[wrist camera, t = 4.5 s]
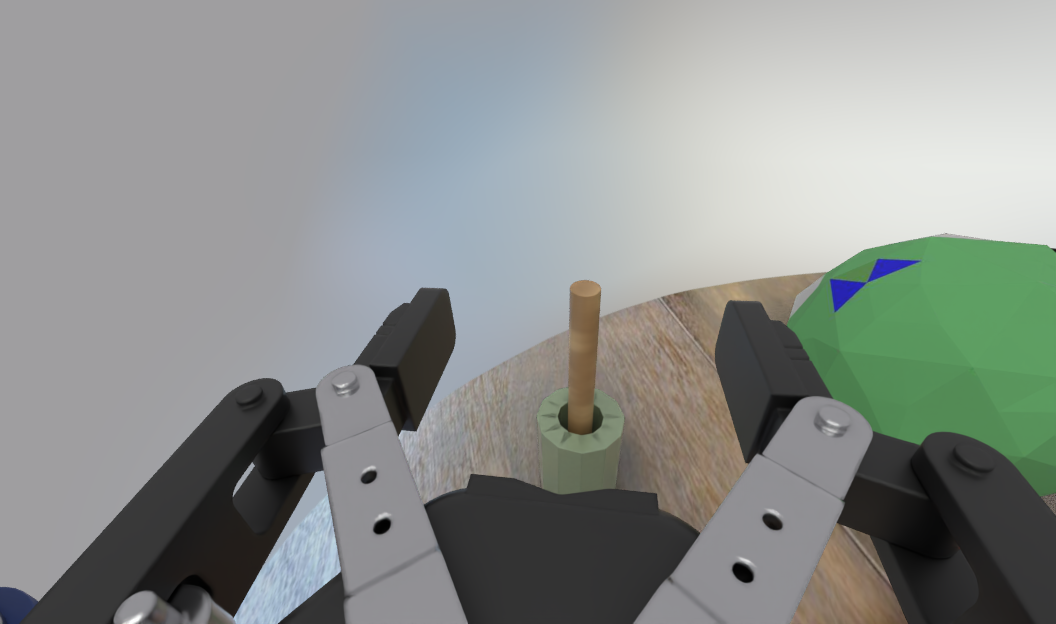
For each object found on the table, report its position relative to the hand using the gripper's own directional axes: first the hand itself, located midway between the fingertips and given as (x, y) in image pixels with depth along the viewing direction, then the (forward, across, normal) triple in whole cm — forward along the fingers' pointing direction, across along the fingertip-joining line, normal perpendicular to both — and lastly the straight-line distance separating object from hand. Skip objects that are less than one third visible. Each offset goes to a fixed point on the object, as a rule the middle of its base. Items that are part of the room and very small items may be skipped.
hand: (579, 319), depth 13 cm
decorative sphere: (+18, -25, +25) cm, 40 cm away
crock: (+11, 0, +25) cm, 27 cm away
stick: (+11, 0, +24) cm, 26 cm away
